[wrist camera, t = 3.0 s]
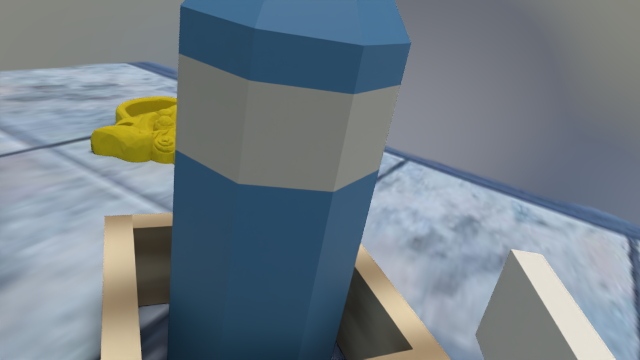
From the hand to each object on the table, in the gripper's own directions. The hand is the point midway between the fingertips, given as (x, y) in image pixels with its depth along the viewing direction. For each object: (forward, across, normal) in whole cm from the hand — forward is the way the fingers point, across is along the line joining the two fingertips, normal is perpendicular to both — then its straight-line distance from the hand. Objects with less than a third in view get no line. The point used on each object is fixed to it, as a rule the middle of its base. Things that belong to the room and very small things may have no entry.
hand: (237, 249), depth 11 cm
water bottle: (+10, 0, -15) cm, 18 cm away
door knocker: (+42, -15, -15) cm, 47 cm away
